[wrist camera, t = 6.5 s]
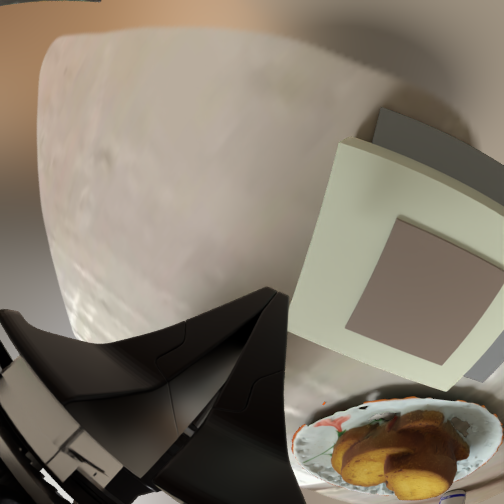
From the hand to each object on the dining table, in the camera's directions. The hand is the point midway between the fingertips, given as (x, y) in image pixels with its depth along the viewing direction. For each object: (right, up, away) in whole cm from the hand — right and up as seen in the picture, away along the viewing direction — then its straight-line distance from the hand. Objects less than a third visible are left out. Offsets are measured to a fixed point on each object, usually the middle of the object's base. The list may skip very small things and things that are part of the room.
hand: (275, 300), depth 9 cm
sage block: (+3, +2, +4) cm, 6 cm away
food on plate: (+16, -21, +13) cm, 29 cm away
